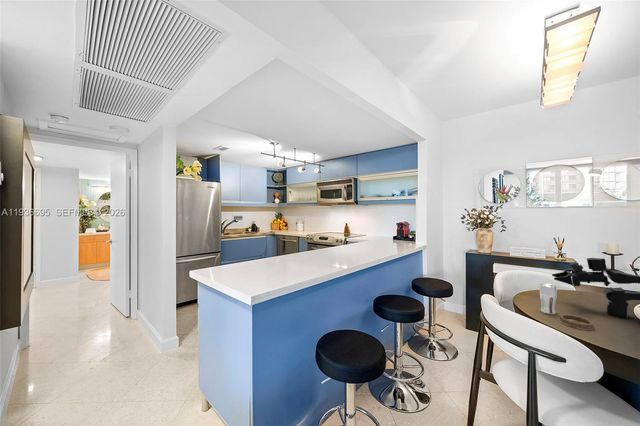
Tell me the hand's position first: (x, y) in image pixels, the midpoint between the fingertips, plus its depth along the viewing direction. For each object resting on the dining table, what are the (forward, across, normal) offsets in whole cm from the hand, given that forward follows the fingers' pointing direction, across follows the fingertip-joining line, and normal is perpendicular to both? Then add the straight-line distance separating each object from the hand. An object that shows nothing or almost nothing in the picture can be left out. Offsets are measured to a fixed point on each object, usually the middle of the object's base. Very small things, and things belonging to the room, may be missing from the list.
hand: (553, 276), depth 147 cm
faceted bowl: (-3, +28, +17) cm, 33 cm away
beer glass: (+6, +17, +16) cm, 24 cm away
